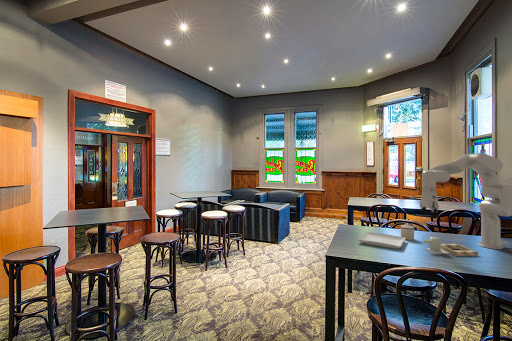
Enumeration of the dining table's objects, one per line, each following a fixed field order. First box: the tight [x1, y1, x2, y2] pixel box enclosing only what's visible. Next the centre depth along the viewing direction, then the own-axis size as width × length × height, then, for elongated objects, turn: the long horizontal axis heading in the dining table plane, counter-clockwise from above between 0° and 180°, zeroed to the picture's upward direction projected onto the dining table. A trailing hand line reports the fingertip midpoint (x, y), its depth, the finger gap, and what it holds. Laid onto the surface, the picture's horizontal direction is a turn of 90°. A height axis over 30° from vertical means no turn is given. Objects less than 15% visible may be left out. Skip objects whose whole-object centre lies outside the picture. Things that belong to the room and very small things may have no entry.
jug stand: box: [441, 243, 479, 257], centre depth 162 cm, size 14×16×2 cm
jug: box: [422, 236, 442, 252], centre depth 162 cm, size 10×6×8 cm, turn 88°
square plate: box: [357, 231, 406, 249], centre depth 182 cm, size 27×27×4 cm
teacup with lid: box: [400, 222, 415, 241], centre depth 193 cm, size 12×9×12 cm
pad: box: [425, 247, 450, 255], centre depth 162 cm, size 9×9×1 cm
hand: (428, 216), depth 162 cm, fingers open, 9 cm apart
